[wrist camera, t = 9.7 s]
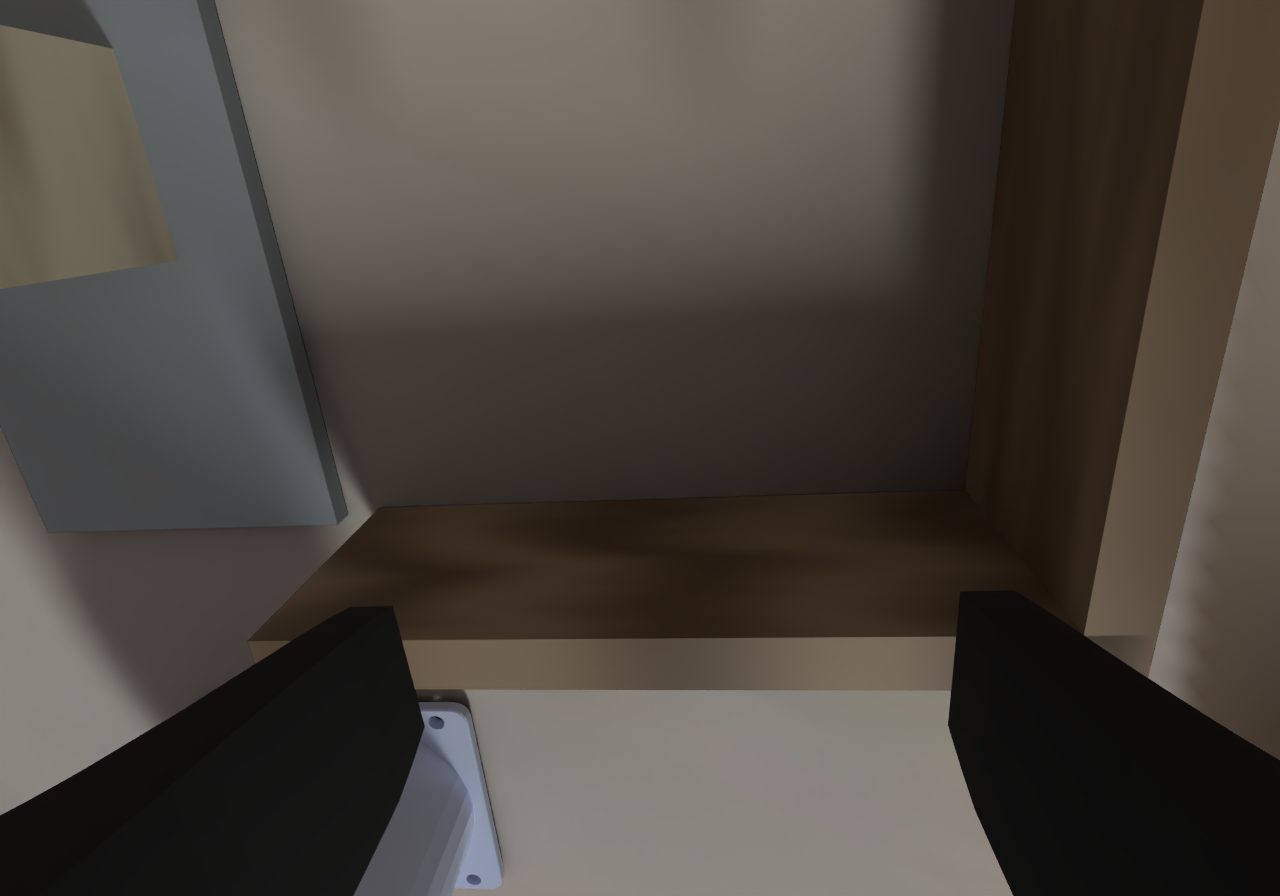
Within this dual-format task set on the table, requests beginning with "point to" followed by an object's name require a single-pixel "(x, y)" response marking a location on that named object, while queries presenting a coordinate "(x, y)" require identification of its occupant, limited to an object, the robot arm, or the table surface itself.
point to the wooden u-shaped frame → (1000, 436)
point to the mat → (168, 318)
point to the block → (71, 165)
